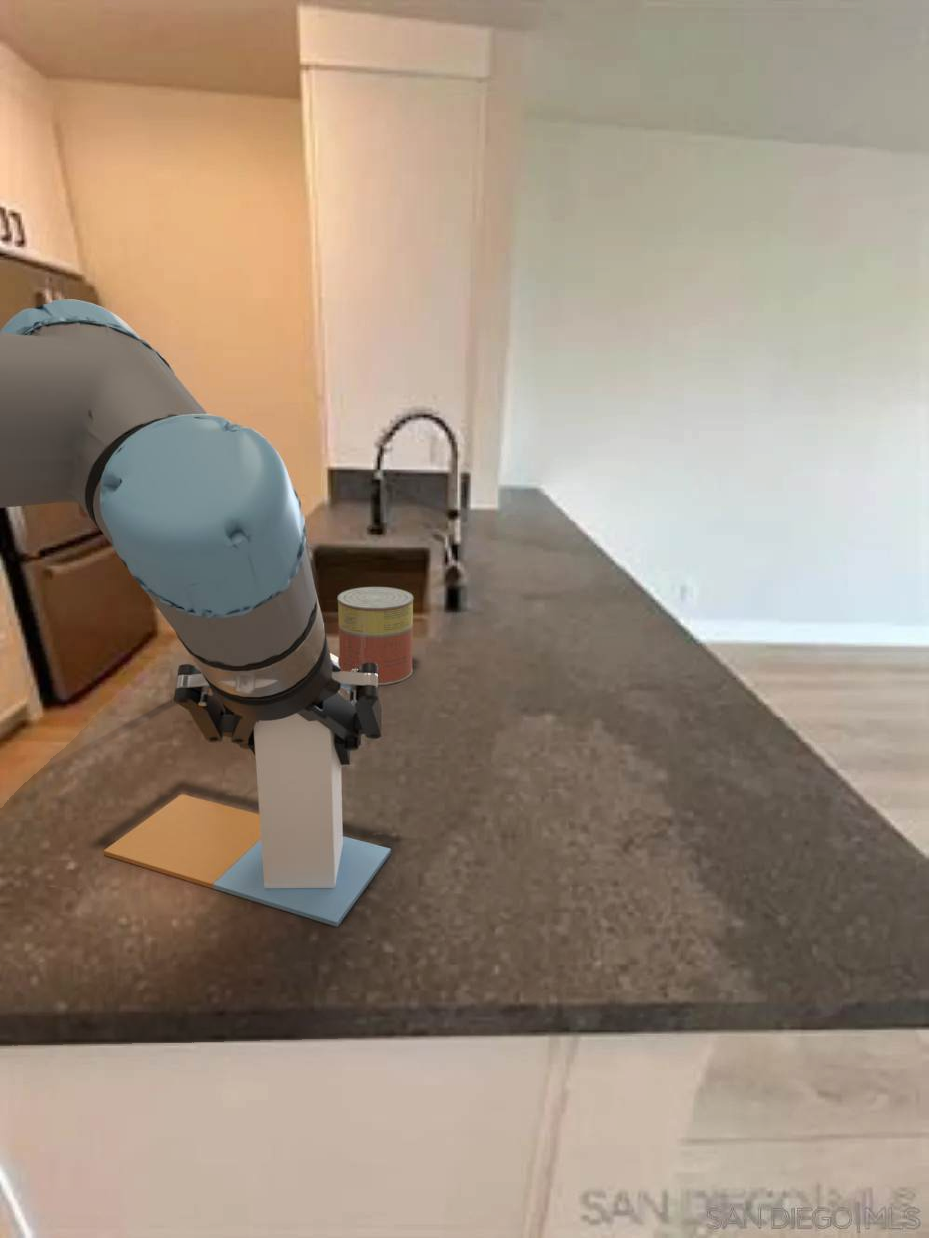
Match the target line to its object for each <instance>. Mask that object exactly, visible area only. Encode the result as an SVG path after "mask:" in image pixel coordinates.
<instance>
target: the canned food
mask: <svg viewBox="0 0 929 1238" xmlns="http://www.w3.org/2000/svg"><path fill="white" fill-rule="evenodd" d="M414 599H415V597H414V595H413V594H412V593H411V592H409V591H407V590H404V589H400V588H396V587H388V586H363V587H356V588H350V589H347V590H344V591H342V592H340V593H339V594H338V595H337V603H338V604H337V607H338V608H337V609H338V645H339V646H338V649H339V651H338V652H339V666H340V668H341V671H349V672H351V670H352V669H358V670H359V668H360V666H361V665H362V664H364V663H368V662H370V663H375V664H377V665H378V686H388V685H393V684H398V683H400V682H403V681H405V680H407V679H409V678H410V677H411V676H412V674H413V672H414V670H413V627H414V626H413V621H414Z"/></svg>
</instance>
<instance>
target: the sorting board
mask: <svg viewBox="0 0 929 1238" xmlns="http://www.w3.org/2000/svg"><path fill="white" fill-rule="evenodd" d="M391 853H392V849H391V848H390V847H386V846H382V845H379V844H374V843H371V842H367V841H362V840H359V839H355V838H351V837H347V836H344V835H343V846H342V852H341V857H340V862H339V868H338V873H337V879H336V884H335V887H334V888H272V889H266V888H265V887H264V874H263V860H262V845H261V830H260V816H259V813H255V812H253V811H249V810H246V809H240V808H237V807H233V806H229V805H225V804H222V803H218V802H213V801H210V800H205V799H202V798H199V797H194V796H190V795H187V794H183V793H181V794H179V795H178V796H177V797H175V798H174V799H172V800H171V801H170V802H169V803H167V804H166V805H164V806H163V807H162V808H160V809H158V810H157V811H156V812H155V813H153V814H152V815H150V816H149V817H148V818H147V819H145V820H144V821H142V822H140V824H138V825H137V826H135V827H134V828H133V829H131V830H130V831H129V832H127V833H126V834H124V835H123V836H122V837H120V838H119V839H118V840H115V842H113V843H111V845H109V846H108V847H106V848H105V849H104V850H103V855H104V856H106V857H110V858H112V859H115V860H119V861H122V862H125V863H129V864H131V865H136V866H139V867H142V868H144V869H145V868H146V869H148V870H152V871H155V872H157V873H161V874H164V875H168V876H171V877H174V878H178V879H181V880H184V881H187V882H189V883H193V884H197V885H200V886H204V887H207V888H209V889H213V890H216V891H219V892H222V893H226V894H229V895H233V896H235V897H238V898H241V899H245V900H249V901H251V902H255V903H259V904H261V905H264V906H268V907H271V908H274V909H278V910H281V911H284V912H287V913H290V914H294V915H297V916H301V917H304V918H307V919H310V920H314V921H317V922H319V923H323V924H326V925H330V926H333V927H336V928H338V926H339V925H341V923H342V921H343V920H344V919H345V918H346V916H347V915H348V913H349V912H350V911H351V909H352V908H353V906H354V905H355V903H356V902H357V901H358V899H359V898H360V897H361V895H363V892H365V890H366V889H367V887H368V885H369V884H370V883H371V882H372V880H373V878H374V877H375V876H376V875H377V874H378V872H379V870H380V869H381V867H382V866H383V865H384V863H385V862H386V861H387V860H388V858H389V856H391Z"/></svg>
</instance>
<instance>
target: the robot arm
mask: <svg viewBox="0 0 929 1238" xmlns="http://www.w3.org/2000/svg"><path fill="white" fill-rule="evenodd" d="M70 502H74V503H77V504H79V506H80V507H81V509H82V510H83V511H84V512H85V513H86V515H87V516H88V517H89V519H90V520H91V521H92V522H93V523H94V524H95V525H96V527H97V528H98V530H99V531H100V532H101V533H102V534H103V535H104V537H105V538H106V539H107V540H108V541H107V542H109V543H110V545H111V546H112V548H113V549H114V550H115V552H116V554H117V555H118V557H119V558H120V560H121V561H122V563H123V564H124V566H125V568H126V569H127V570H128V571H129V572H130V574H131V575H132V577H133V579H134V580H136V582H137V584H139V586H140V587H141V588H142V589H143V590H144V591H145V593H146V594H147V595H148V597H149V598H150V600H151V602H152V603H153V604H154V605H155V607H156V608H157V609H158V611H159V612H160V613H161V615H162V617H163V618H164V619H165V621H167V623H168V624H169V626H170V627H171V628H172V630H173V631H174V633H175V634H176V636H177V638H178V640H179V641H180V643H181V644H182V646H183V647H184V648H185V650H186V652H187V653H188V655H189V656H190V658H191V659H192V661H193V662H194V663H195V664H194V665H193V664H189V663H184V664H179V665H178V668H177V676H176V682H175V687H174V694H173V701H172V702H173V703H175V704H177V705H179V706H181V707H182V708H184V709H185V710H187V711H188V712H189V714H190V716H191V717H192V719H193V721H194V722H195V724H196V726H197V727H198V729H199V731H200V732H201V734H202V736H203V738H204V739H205V740H206V741H207V742H210V743H217V742H221V741H222V740H223V737H228V738H230V741H231V743H233V744H236V745H238V746H239V747H240V748H241V749H244V750H250V751H251V752H252V754H253V755H254V756H255V742H254V726H255V724H256V722H259V721H272V720H278V719H283V718H286V717H289V716H291V715H294V714H296V713H297V714H299V715H300V716H302V717H303V718H304V719H306V720H307V721H316V720H317V721H318V722H320V723H321V724H323V725H324V726H325V727H327V728H328V729H330V730H331V731H332V732H334V733H335V734H336V739H335V744H336V748H337V752H338V755H339V759H340V762H341V766H346V765H347V766H349V765H350V764H351V751H357V750H359V747H360V746H361V745H362V735H365V737H366V738H368V739H371V740H376V739H379V738H381V737H382V705H381V701H380V698H379V685H378V665H377V664H375V663H370V662H368V663H364V664H362V665H361V666H360V668H359V670H358V669H352V670H351V672H349V671H341V668H340V664H339V665H338V664H337V663H336V662H334V661H333V660H331V656H330V653H331V652H330V647H329V643H328V637H327V632H326V630H325V622H324V618H323V614H322V610H321V607H320V603H319V598H318V594H317V590H316V586H315V580H314V575H313V569H312V563H311V558H310V553H309V552H310V551H309V547H308V543H307V539H306V538H307V537H306V536H307V529H306V520H305V516H304V514H303V512H302V502H301V500H300V498H299V495H298V492H297V490H296V489H295V487H294V486H293V484H292V480H291V477H290V475H289V472H288V469H287V467H286V464H285V462H284V460H283V458H282V456H281V455H280V454H279V452H278V451H277V450H276V448H275V447H274V445H272V444H271V443H270V441H269V440H268V439H267V438H265V436H263V435H262V434H261V433H260V432H258V431H257V430H255V429H253V428H251V427H249V426H243V425H240V424H238V423H234V422H232V421H230V420H228V419H227V418H224V417H222V416H220V415H216V414H209V413H208V411H207V410H206V409H205V408H204V407H203V406H202V405H201V403H200V402H199V401H198V400H197V399H196V397H195V396H194V395H193V394H192V393H191V392H190V390H189V389H188V388H187V387H186V386H185V385H184V384H183V382H182V381H181V380H180V379H179V377H178V376H177V375H176V373H175V371H174V369H173V368H172V367H171V365H170V364H169V362H168V361H167V360H166V359H165V357H164V356H163V355H162V354H161V353H160V352H159V351H158V350H157V349H155V348H153V347H152V346H151V344H149V343H148V342H147V340H146V339H143V338H141V337H140V336H139V335H138V334H137V333H136V332H135V330H134V329H133V328H132V327H130V326H129V325H128V323H127V322H125V321H124V320H123V319H122V318H121V317H119V316H118V315H117V314H116V313H114V312H112V311H111V310H109V309H107V308H105V307H103V306H101V305H98V304H95V303H92V302H89V301H85V300H79V299H72V298H60V299H59V298H58V299H55V300H54V299H53V300H51V301H50V302H48V303H45V304H41V305H38V306H35V307H32V308H30V307H29V308H28V307H27V308H25V309H22V310H21V311H19V312H18V313H16V314H15V315H14V316H13V317H11V318H10V319H9V320H8V321H7V322H6V323H5V324H4V325H3V327H2V328H1V329H0V509H5V508H15V507H26V506H39V505H49V504H58V503H59V504H60V503H70ZM340 690H343V691H345V694H347V695H349V699H347V698H346V697H345V696H344V695H343V694H341V692H340ZM338 691H339V692H338ZM222 703H223V704H224V705H225V706H226V707H227V708H228V709H229V710H231V711H232V712H234V715H226V714H225V708H224V706H223V704H222Z"/></svg>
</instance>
